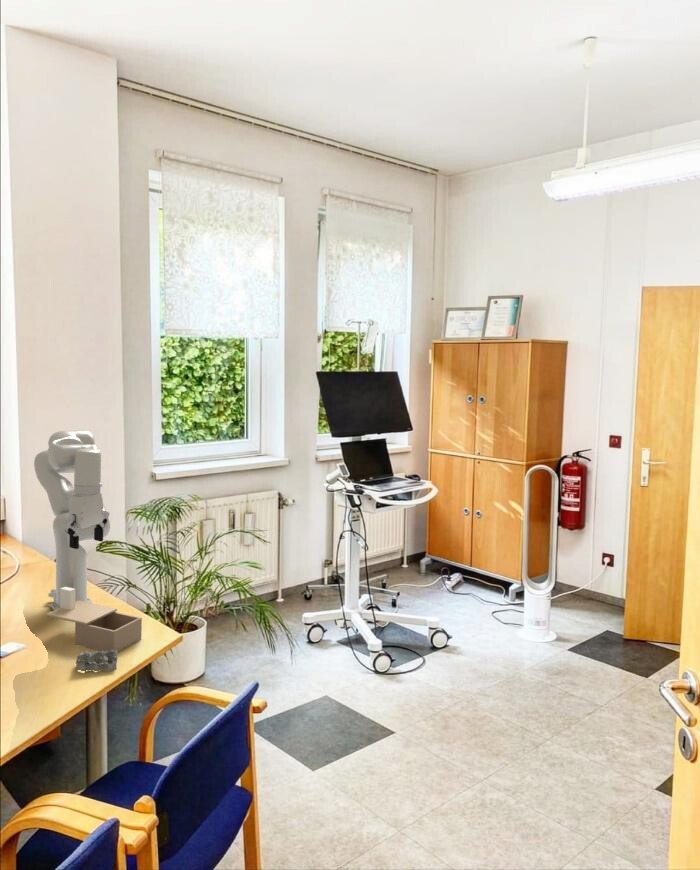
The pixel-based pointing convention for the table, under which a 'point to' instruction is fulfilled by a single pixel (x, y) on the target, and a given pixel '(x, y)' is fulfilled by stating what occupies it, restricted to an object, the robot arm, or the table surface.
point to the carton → (109, 632)
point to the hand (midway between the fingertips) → (86, 544)
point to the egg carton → (97, 660)
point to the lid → (78, 609)
